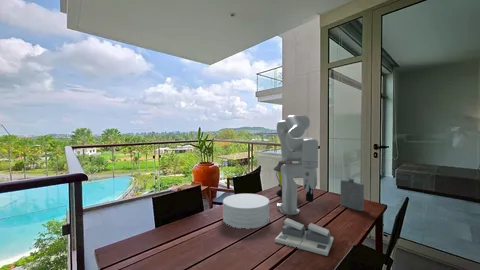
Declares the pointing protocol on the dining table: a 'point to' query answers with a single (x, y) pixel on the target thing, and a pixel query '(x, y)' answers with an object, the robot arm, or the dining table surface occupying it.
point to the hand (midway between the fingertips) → (309, 201)
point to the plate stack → (246, 210)
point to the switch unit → (305, 239)
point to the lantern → (278, 169)
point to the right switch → (318, 229)
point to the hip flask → (352, 194)
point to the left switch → (294, 224)
